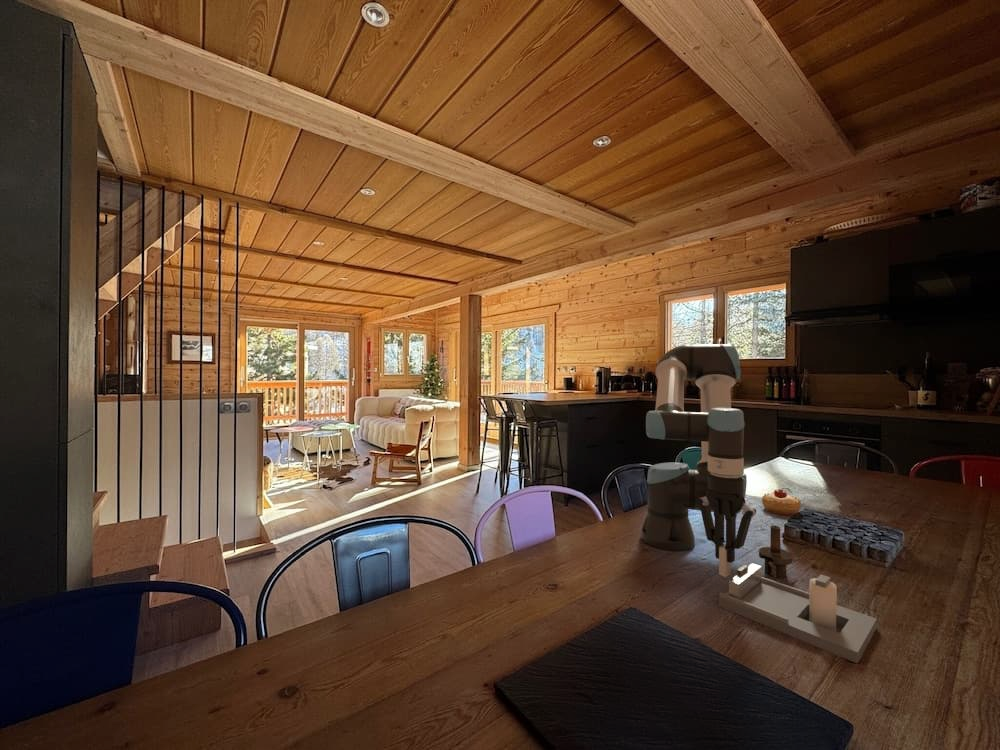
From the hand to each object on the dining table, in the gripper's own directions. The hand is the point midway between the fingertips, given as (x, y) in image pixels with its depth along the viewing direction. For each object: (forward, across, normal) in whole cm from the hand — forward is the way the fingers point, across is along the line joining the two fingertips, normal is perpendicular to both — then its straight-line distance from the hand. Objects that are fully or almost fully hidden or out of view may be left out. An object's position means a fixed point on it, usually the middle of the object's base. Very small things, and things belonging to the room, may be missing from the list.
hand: (724, 573), depth 101 cm
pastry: (+4, -12, +74) cm, 75 cm away
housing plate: (+4, +14, 0) cm, 15 cm away
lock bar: (+2, +4, 0) cm, 5 cm away
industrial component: (+4, +4, +18) cm, 19 cm away
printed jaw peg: (+4, +19, +1) cm, 19 cm away
